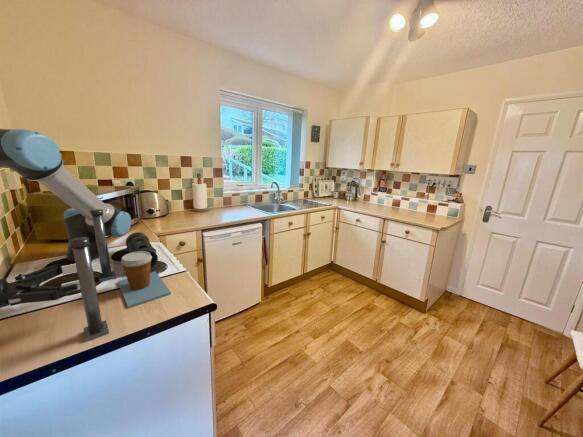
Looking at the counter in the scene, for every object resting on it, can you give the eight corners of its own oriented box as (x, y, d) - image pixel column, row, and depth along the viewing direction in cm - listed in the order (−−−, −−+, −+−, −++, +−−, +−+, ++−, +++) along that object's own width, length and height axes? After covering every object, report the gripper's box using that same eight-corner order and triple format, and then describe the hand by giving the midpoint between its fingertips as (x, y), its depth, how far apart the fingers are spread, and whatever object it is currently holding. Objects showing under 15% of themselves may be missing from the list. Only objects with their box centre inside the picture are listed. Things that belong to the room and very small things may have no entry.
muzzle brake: (133, 275, 97) (130, 252, 94) (126, 252, 118) (123, 232, 115) (159, 269, 103) (157, 247, 100) (148, 248, 123) (146, 229, 121)
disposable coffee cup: (132, 295, 82) (128, 264, 79) (119, 286, 86) (115, 256, 83) (159, 284, 90) (157, 255, 87) (146, 276, 94) (143, 248, 91)
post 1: (84, 331, 66) (65, 238, 59) (106, 323, 69) (91, 234, 62) (85, 341, 62) (65, 244, 55) (109, 333, 66) (92, 240, 59)
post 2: (98, 277, 94) (87, 209, 87) (114, 273, 97) (104, 208, 90) (100, 282, 90) (88, 212, 83) (116, 278, 94) (105, 210, 87)
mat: (118, 282, 90) (117, 281, 90) (155, 273, 99) (155, 271, 99) (128, 308, 76) (127, 306, 76) (171, 294, 85) (170, 292, 85)
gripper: (-3, 288, 71) (89, 268, 85) (-24, 336, 54) (96, 301, 68) (-10, 266, 69) (85, 249, 83) (-34, 308, 52) (91, 277, 66)
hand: (90, 272), depth 76 cm, fingers open, 13 cm apart
